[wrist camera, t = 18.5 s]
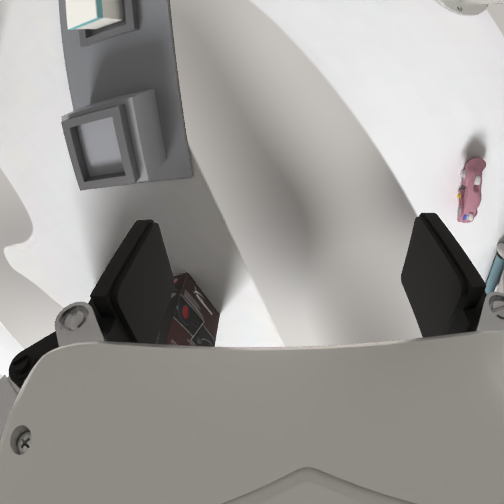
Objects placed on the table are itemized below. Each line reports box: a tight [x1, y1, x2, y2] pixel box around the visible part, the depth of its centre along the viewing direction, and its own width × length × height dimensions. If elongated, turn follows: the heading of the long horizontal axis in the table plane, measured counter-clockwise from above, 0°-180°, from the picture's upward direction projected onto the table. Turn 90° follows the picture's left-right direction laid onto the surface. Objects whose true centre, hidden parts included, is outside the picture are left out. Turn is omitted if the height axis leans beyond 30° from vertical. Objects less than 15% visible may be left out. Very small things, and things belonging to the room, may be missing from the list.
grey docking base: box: [59, 0, 193, 190], centre depth 28 cm, size 34×16×10 cm, turn 4°
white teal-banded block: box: [65, 0, 124, 30], centre depth 23 cm, size 5×4×7 cm
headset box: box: [156, 273, 220, 347], centre depth 45 cm, size 25×12×33 cm, turn 115°
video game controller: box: [457, 158, 486, 223], centre depth 37 cm, size 10×5×7 cm, turn 9°
